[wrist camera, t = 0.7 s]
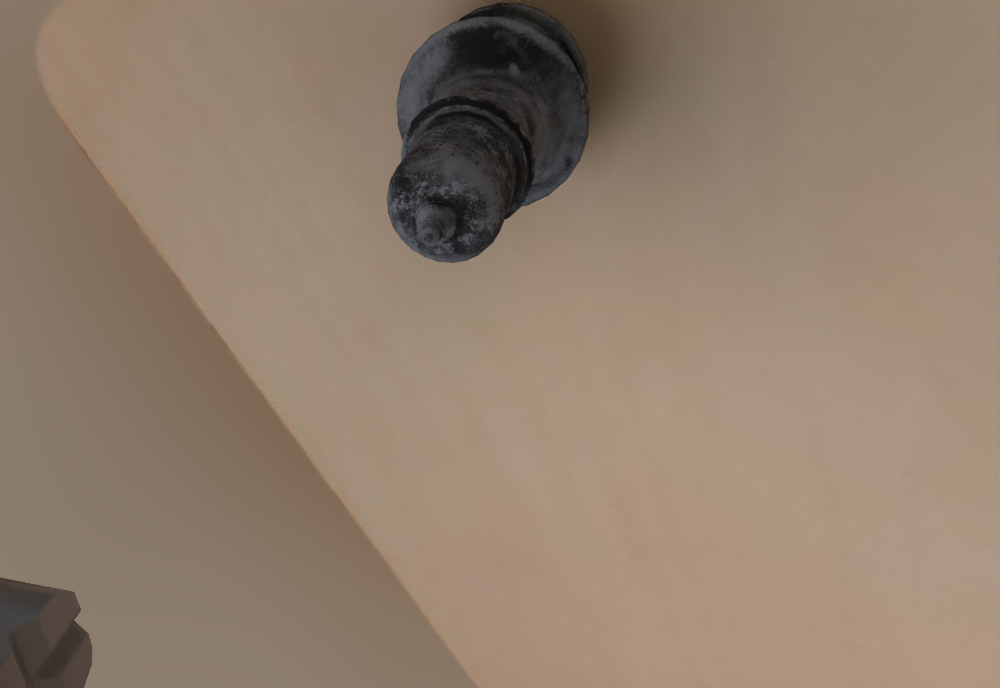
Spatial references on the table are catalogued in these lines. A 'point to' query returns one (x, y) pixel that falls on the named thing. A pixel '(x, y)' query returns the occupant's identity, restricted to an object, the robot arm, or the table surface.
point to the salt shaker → (485, 127)
